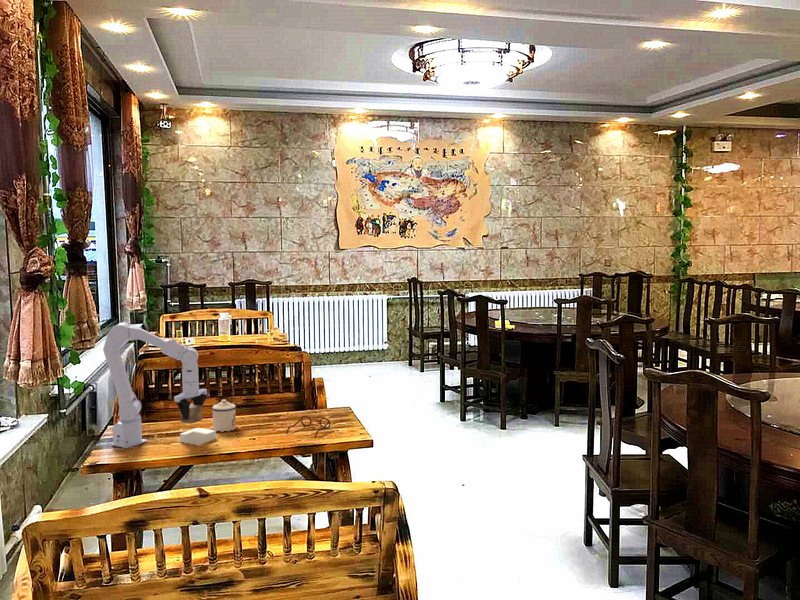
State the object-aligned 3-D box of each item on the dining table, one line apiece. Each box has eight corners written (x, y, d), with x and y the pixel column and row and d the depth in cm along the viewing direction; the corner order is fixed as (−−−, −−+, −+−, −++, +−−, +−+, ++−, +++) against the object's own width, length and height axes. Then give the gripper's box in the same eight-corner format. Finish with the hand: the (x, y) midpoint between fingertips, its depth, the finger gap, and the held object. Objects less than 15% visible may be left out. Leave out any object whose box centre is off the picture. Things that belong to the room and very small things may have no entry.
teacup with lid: (237, 430, 257) (237, 401, 256) (213, 433, 254) (212, 403, 253) (234, 423, 268) (233, 394, 267) (211, 425, 265) (210, 396, 264)
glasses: (331, 430, 260) (331, 417, 259) (315, 439, 248) (315, 426, 247) (301, 426, 265) (301, 414, 264) (284, 435, 252) (284, 422, 252)
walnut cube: (191, 423, 241) (191, 408, 241) (180, 421, 244) (179, 407, 243) (202, 420, 246) (201, 405, 245) (191, 418, 248) (191, 403, 248)
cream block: (198, 446, 238) (198, 437, 238) (180, 443, 242) (179, 433, 242) (216, 439, 247) (215, 430, 246) (197, 436, 250) (197, 427, 250)
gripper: (183, 385, 235) (185, 423, 236) (212, 378, 248) (213, 413, 249) (169, 384, 238) (170, 420, 240) (198, 376, 251) (199, 411, 252)
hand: (191, 417), depth 245 cm, fingers closed on walnut cube, 5 cm apart
